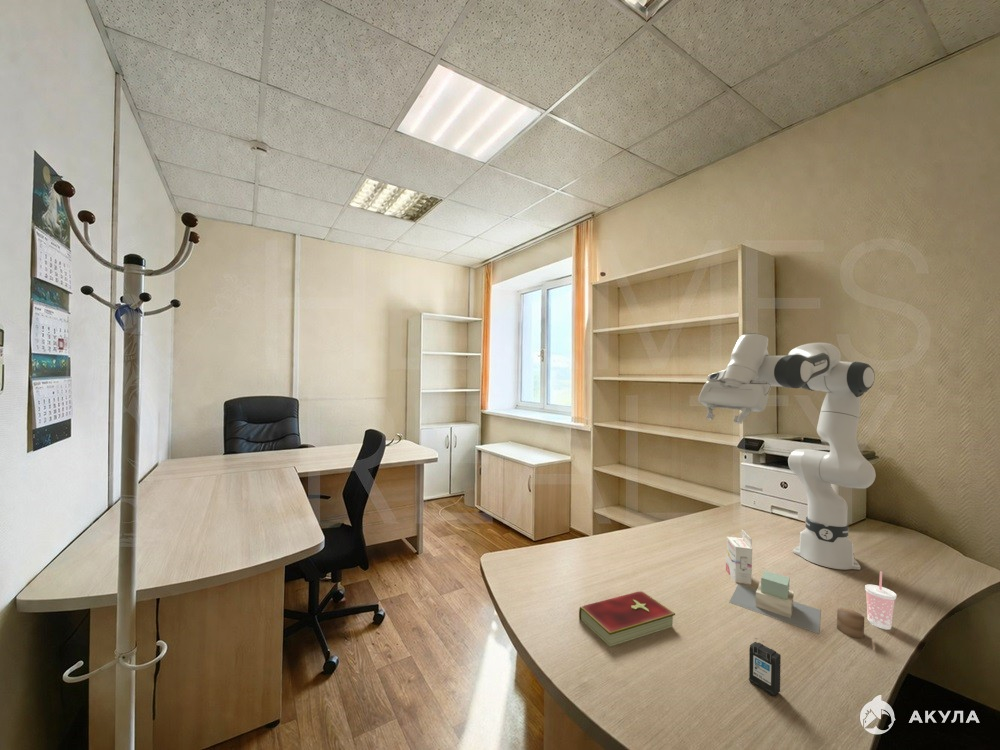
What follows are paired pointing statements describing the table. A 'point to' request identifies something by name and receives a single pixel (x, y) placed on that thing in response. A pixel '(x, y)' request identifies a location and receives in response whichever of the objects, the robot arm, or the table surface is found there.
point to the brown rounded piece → (850, 622)
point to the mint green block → (775, 585)
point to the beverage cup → (880, 605)
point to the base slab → (775, 603)
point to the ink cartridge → (764, 668)
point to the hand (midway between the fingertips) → (722, 420)
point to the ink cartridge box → (739, 558)
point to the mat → (800, 614)
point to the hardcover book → (626, 617)
